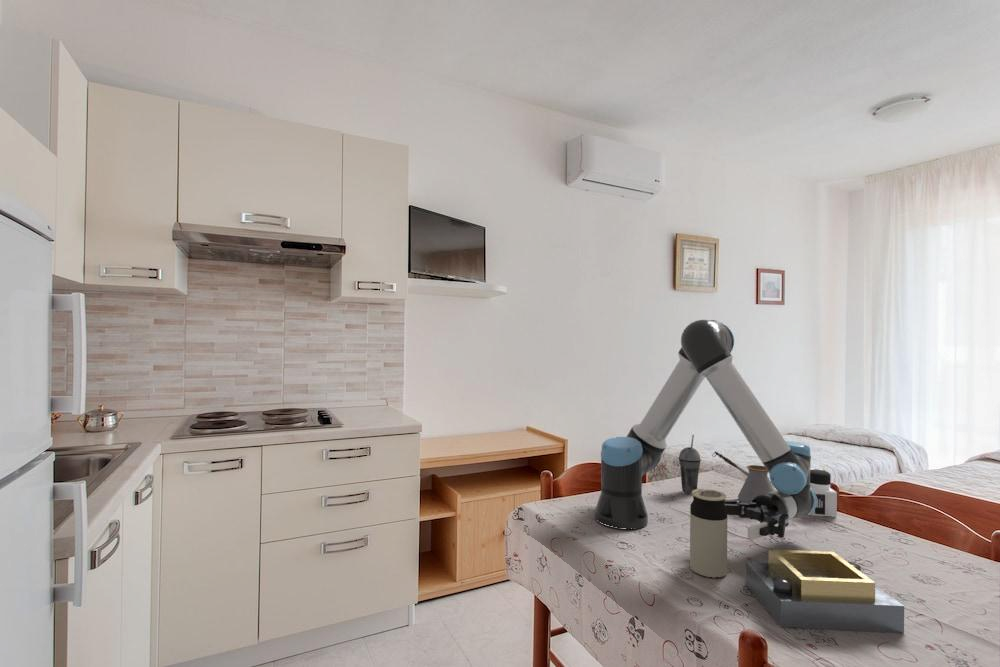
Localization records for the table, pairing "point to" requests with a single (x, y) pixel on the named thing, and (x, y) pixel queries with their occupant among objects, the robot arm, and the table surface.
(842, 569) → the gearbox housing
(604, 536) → the table surface
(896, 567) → the table surface
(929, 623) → the table surface
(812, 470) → the container
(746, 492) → the coffee pot
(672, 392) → the robot arm
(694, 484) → the beverage cup
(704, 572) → the travel mug
